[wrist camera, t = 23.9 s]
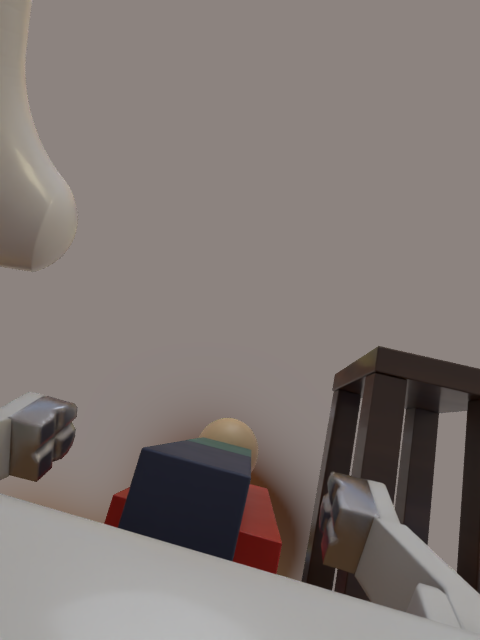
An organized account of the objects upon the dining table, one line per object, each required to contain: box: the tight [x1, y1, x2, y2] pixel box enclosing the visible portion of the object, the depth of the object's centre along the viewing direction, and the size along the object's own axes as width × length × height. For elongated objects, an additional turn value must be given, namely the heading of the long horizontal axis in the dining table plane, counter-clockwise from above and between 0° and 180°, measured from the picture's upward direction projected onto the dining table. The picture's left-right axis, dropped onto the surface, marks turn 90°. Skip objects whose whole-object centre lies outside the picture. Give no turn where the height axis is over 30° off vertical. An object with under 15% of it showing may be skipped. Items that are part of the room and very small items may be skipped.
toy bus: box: [104, 484, 282, 574], centre depth 21 cm, size 15×8×16 cm, turn 178°
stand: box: [302, 346, 480, 602], centre depth 22 cm, size 11×8×26 cm
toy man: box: [118, 418, 258, 562], centre depth 21 cm, size 20×5×5 cm, turn 178°
